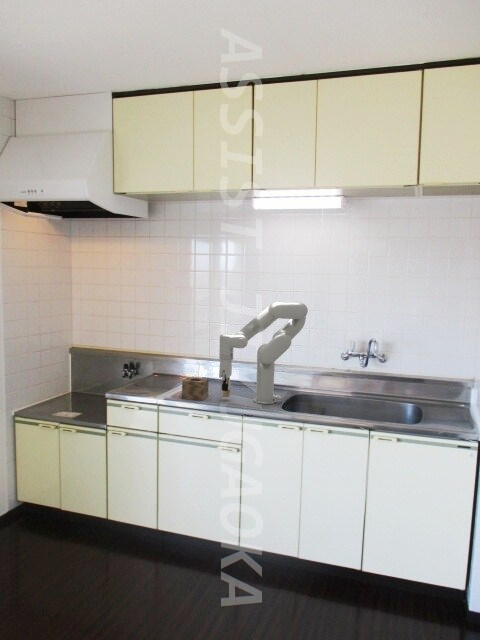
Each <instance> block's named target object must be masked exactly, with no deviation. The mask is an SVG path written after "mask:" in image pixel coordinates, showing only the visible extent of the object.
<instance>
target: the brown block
mask: <svg viewBox="0 0 480 640" xmlns="http://www.w3.org/2000/svg"><path fill="white" fill-rule="evenodd" d="M209 379H210V378H204V377H202V378H201V377H193V376H192V377H189V376H188V377H186V378H184V379H183V380H182V381H181V382H182V383H181V386H182V387H181V390H182V391H181V399H182V400H194V401H205V400H206V399H207V398H208V397H209V384H210V383H209Z"/></svg>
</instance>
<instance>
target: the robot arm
mask: <svg viewBox="0 0 480 640" xmlns="http://www.w3.org/2000/svg"><path fill="white" fill-rule="evenodd" d="M308 311H309V309H308V307H307V305H306V304H305V303H303V302H301V301H294V302H281V301H277V300H275V301H273V302H271V303H269V304H268V306H267V307H265V308H264V309H263V310H262V311H261V312H260V313H258V315H256V316H255V317H254V318H253V319H251V320H250V322H248V323H247V324H245V325H244V326H242V328H241V329H240V330H239V331H238V332H236V334H231V333H222V334H220V335H219V360H220V361H219V373H218V377H219V379H221V380H222V391H228V384H227V382H228V380H231V379H230V378H231V376H232V373H233V365H232V364H233V362H232V361H233V360H234V349H244V348H246V347H247V346H248V342H249V340H251V339H253V337H255V336H256V335H257V334H259V333H261V332H263V331H265V330H266V329H268V327H270V326H271V325H273V324H274V323H275V321H277V320H278V319H287V321H286V323H285V324H283V326H282V327H281V328H280V329H278V330H277V331H276V332H275V333H273V336H272V338H271V340H270V341H269V342H268V343H263V344H261V345H260V346H258V348H257V351H256V382H255V383H256V386H255V387H256V388H255V390H256V391H255V397H253V398H252V401H253V402H254V403H255V404H260V405H261V404H262V405H270V404H271V405H273V404H275V403H276V402H277V400H278V401H281V400H282V396H280V395H276V394H275V392H274V387H275V386H274V385H275V366H276V365H275V364H276V361H277V360H278V359H279V358H281V357H282V355H284V353H286V352H287V350H288V349H290V347H291V345H292V340H293V339H294V338H295V337H296V336H297V335H298V334H299V333H300V332H301V331H302V329H303V328H304V326H305V323H306V319H307V315H308Z"/></svg>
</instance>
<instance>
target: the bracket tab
mask: <svg viewBox="0 0 480 640" xmlns="http://www.w3.org/2000/svg"><path fill="white" fill-rule="evenodd" d="M231 381H232V380H231V379H230V380H228V382H227V384H228V391H222V379H221V381H220V384H221V386H220V387H221V388H220V389H221V390H220V396H221V398H230V397H231V390H232V389H231V385H232V382H231Z"/></svg>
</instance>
